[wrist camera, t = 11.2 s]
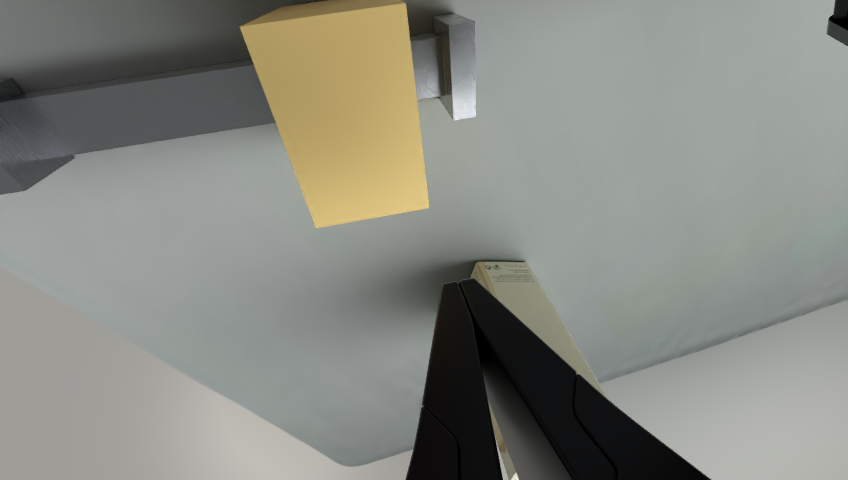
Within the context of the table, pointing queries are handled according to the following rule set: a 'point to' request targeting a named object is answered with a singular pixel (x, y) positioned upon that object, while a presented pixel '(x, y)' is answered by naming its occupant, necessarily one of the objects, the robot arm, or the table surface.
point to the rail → (190, 105)
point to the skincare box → (529, 323)
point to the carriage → (344, 105)
